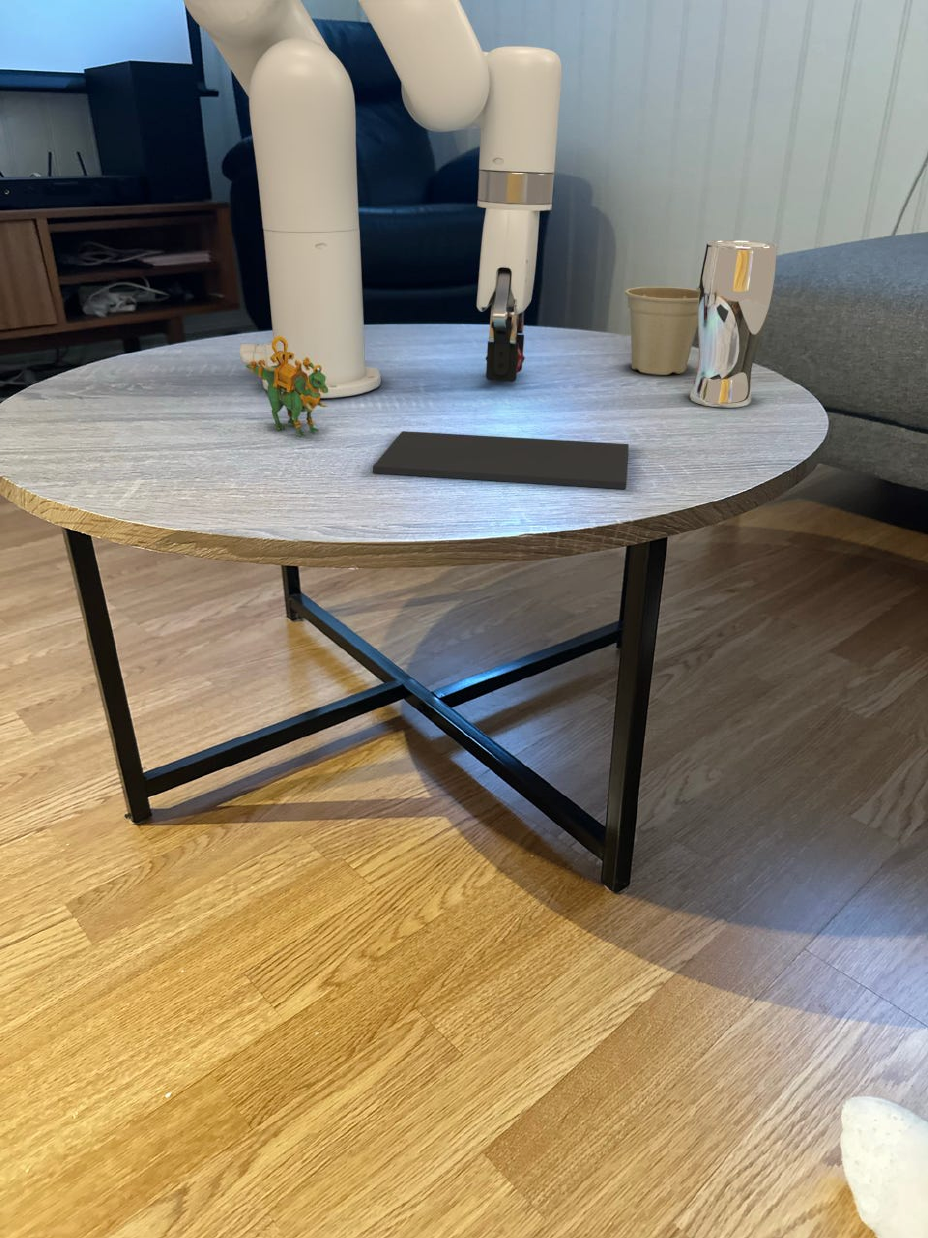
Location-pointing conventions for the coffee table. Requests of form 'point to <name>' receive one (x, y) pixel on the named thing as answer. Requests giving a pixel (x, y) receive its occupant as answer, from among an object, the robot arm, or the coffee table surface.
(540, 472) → the mat
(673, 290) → the flower pot
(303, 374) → the figurine
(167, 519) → the coffee table surface
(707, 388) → the beer glass
